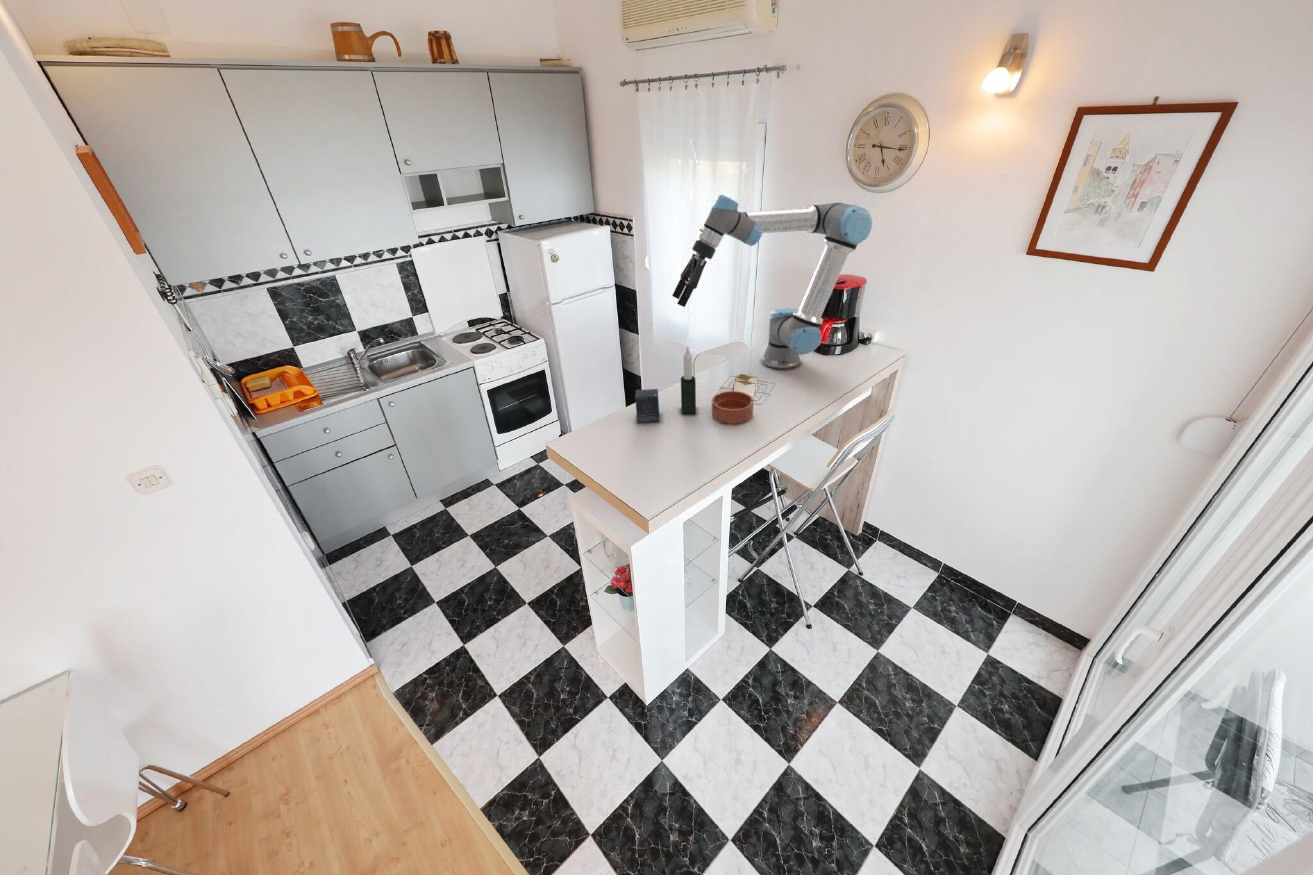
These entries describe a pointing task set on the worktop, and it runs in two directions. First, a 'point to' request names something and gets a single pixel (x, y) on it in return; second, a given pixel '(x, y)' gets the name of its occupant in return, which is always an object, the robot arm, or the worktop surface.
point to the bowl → (732, 407)
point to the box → (647, 405)
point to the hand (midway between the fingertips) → (677, 301)
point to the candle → (688, 387)
